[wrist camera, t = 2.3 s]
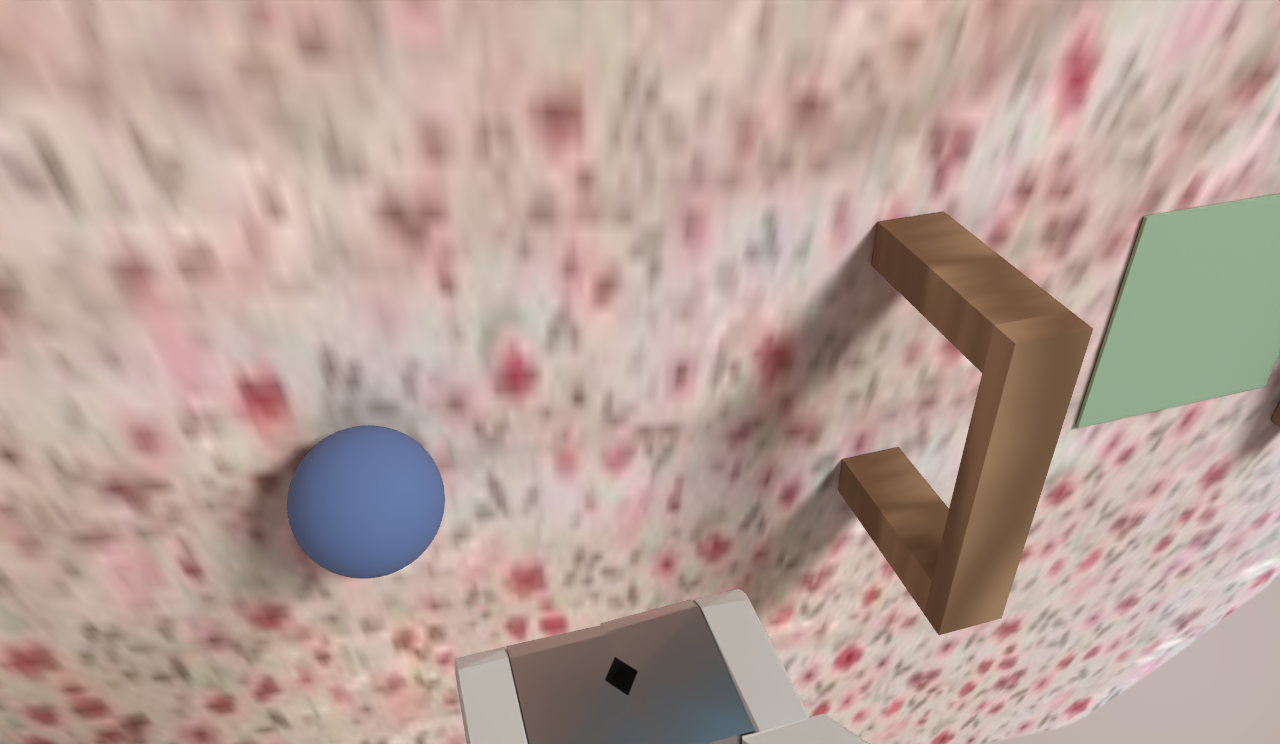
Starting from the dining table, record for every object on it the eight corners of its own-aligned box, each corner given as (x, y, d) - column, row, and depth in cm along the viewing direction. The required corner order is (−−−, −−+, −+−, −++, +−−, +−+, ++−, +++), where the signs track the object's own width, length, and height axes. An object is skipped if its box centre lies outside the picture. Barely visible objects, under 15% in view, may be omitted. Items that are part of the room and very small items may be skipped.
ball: (304, 520, 39) (306, 626, 34) (271, 411, 35) (269, 512, 31) (443, 492, 40) (463, 590, 35) (425, 384, 37) (443, 477, 32)
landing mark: (1075, 425, 50) (1078, 428, 49) (1144, 216, 43) (1147, 218, 42) (1261, 384, 52) (1264, 386, 52) (1354, 181, 45) (1358, 183, 45)
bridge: (838, 489, 47) (938, 635, 40) (878, 221, 39) (1015, 343, 31) (892, 477, 48) (1001, 618, 40) (943, 211, 39) (1092, 328, 32)
